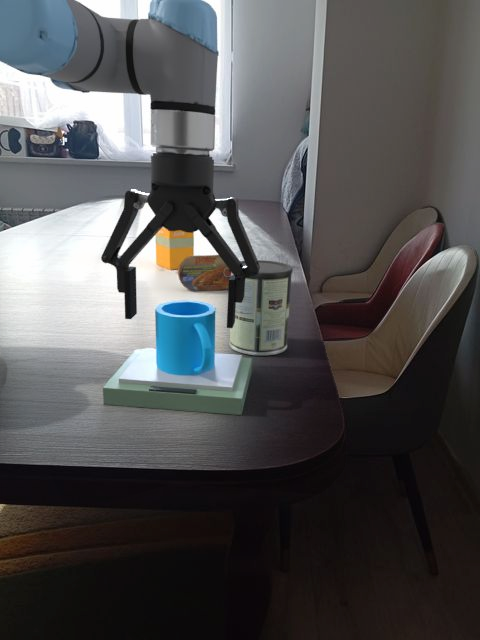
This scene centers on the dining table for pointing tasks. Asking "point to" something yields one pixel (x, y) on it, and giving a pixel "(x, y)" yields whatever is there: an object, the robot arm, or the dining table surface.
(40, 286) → the dining table surface
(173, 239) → the orange juice
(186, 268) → the tin
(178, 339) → the mug
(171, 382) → the scale
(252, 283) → the coffee can
